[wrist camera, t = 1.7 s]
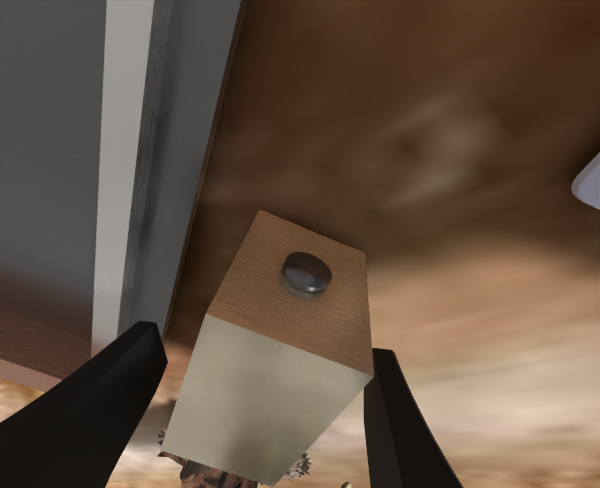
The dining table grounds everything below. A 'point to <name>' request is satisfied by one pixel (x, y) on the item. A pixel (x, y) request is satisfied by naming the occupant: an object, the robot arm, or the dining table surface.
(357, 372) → the block
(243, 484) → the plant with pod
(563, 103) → the dining table surface
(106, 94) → the rail guide
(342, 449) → the dining table surface
